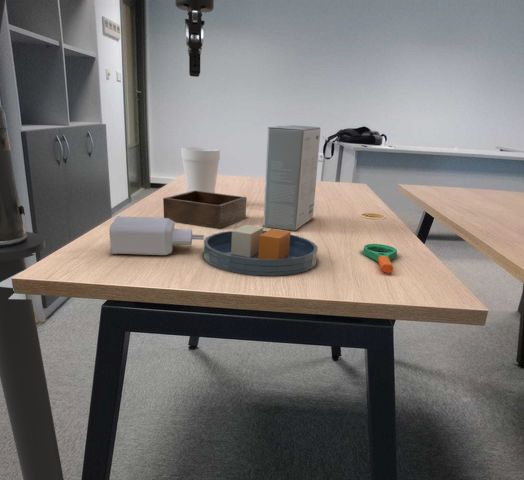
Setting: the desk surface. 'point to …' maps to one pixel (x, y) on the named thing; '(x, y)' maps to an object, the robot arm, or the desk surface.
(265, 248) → the orange block
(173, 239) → the charger
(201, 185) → the foam cup
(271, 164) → the hard drive box
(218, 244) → the dark blue round tray
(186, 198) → the holder
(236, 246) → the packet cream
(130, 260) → the desk surface
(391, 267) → the magnifying glass
